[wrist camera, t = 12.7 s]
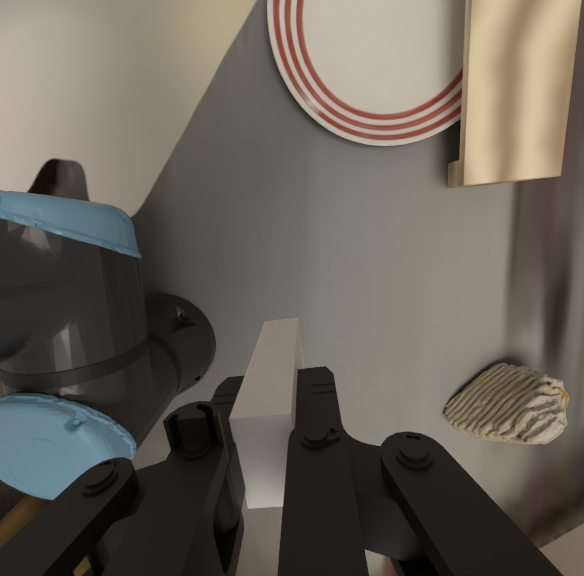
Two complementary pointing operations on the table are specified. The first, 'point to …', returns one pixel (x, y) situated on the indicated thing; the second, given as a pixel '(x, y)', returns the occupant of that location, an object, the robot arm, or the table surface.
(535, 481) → the table surface
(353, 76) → the dinner plate
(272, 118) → the table surface
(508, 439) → the fossil tooth
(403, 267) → the table surface
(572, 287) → the table surface
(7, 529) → the crate
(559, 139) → the long wooden block
